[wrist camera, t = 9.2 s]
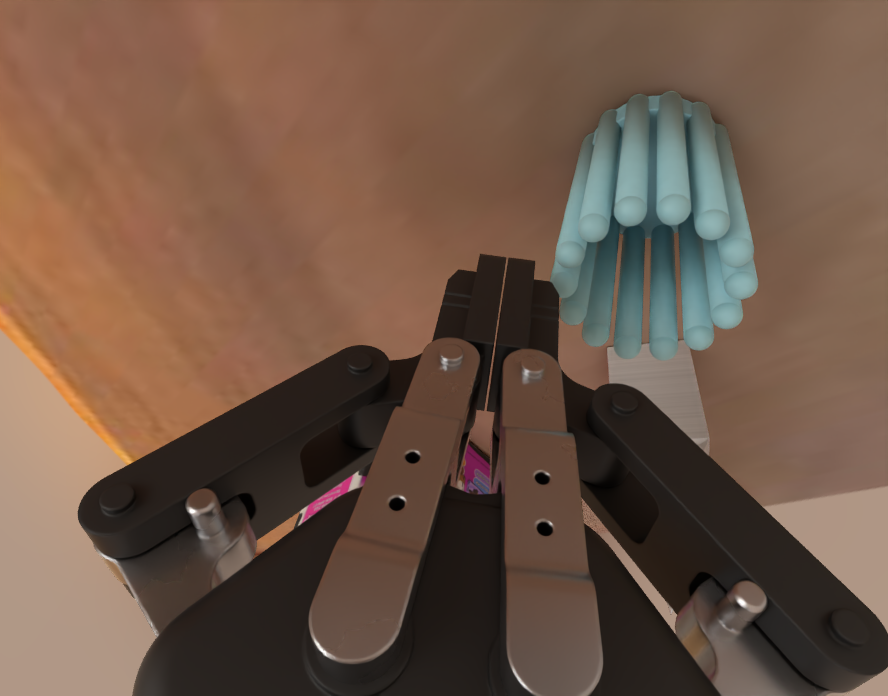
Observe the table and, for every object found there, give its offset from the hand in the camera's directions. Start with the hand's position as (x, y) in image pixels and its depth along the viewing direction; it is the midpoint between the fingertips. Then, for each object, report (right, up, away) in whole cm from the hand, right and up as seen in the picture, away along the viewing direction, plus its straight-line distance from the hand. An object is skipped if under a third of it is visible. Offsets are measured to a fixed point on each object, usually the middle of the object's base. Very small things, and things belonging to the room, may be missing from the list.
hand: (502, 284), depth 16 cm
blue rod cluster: (+2, +3, +3) cm, 5 cm away
